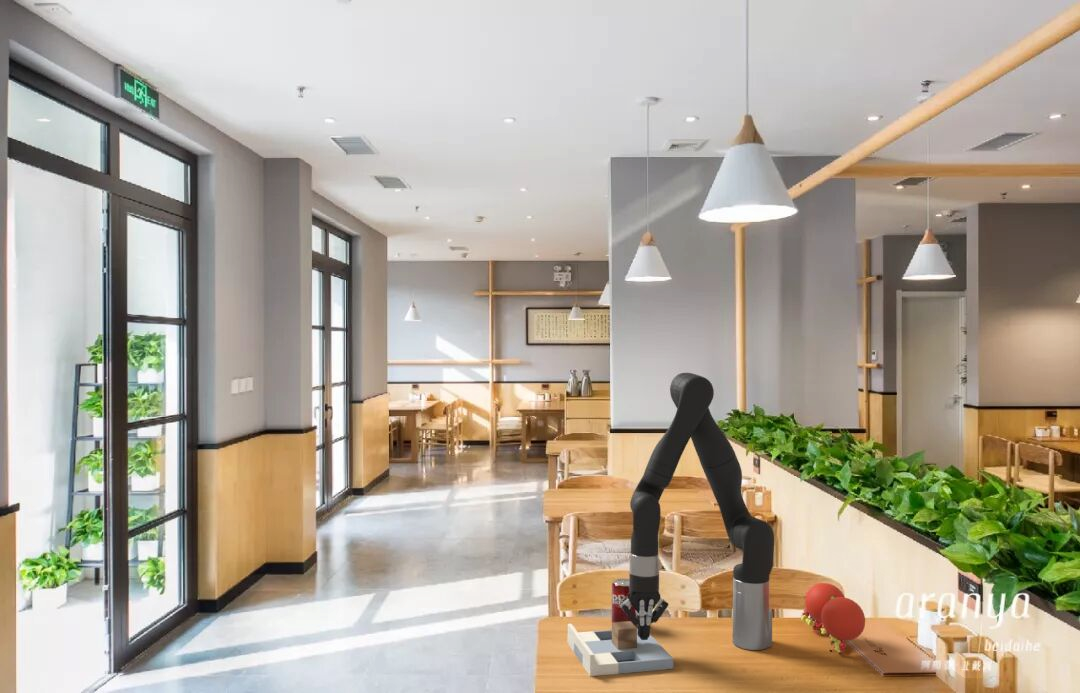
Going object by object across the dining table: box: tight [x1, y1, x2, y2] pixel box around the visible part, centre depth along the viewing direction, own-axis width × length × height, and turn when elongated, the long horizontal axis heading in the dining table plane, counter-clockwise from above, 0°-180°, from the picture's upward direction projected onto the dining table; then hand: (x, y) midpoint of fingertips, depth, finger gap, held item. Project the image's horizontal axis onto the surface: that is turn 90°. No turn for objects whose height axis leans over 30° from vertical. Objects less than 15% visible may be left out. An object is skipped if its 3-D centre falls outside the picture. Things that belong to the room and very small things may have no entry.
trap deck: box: [567, 627, 674, 677], centre depth 199 cm, size 21×21×2 cm
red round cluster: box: [800, 582, 866, 654], centre depth 208 cm, size 25×11×16 cm, turn 7°
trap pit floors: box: [600, 639, 634, 662], centre depth 199 cm, size 6×20×1 cm, turn 13°
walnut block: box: [611, 621, 638, 650], centre depth 199 cm, size 5×5×5 cm
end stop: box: [567, 623, 594, 666], centre depth 196 cm, size 1×21×2 cm, turn 13°
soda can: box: [611, 578, 638, 627], centre depth 220 cm, size 7×7×12 cm
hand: (643, 638), depth 200 cm, fingers closed
